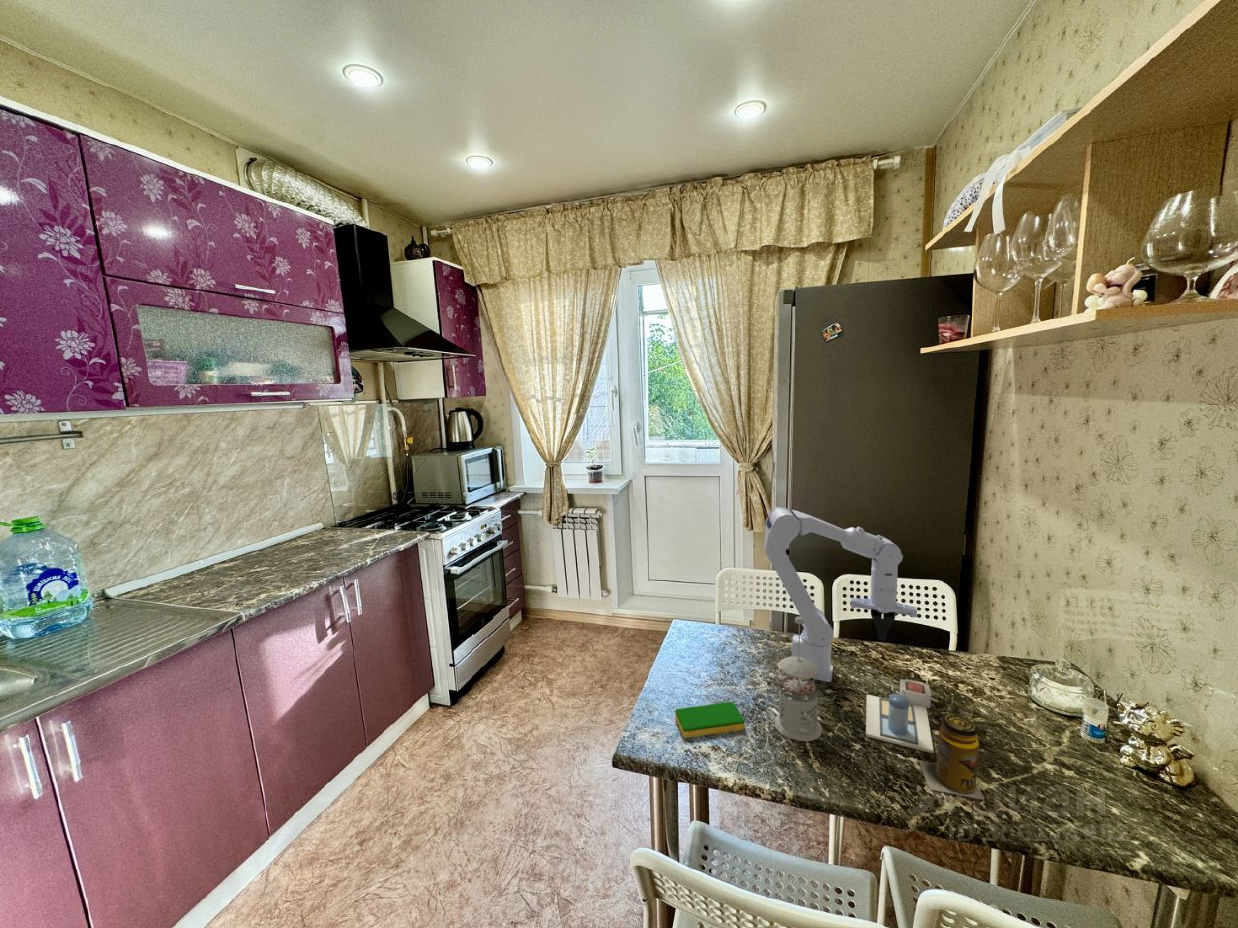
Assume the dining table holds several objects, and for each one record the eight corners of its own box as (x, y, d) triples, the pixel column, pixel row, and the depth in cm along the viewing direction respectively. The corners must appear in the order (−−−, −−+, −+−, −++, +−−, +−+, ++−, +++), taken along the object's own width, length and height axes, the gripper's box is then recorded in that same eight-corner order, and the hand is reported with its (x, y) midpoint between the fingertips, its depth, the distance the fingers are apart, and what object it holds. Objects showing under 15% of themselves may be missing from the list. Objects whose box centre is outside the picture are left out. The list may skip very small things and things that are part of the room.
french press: (766, 727, 106) (767, 618, 103) (789, 702, 114) (790, 601, 111) (811, 748, 99) (813, 632, 96) (832, 719, 108) (834, 612, 104)
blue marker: (886, 731, 102) (887, 701, 101) (888, 721, 105) (889, 691, 104) (907, 737, 100) (908, 706, 99) (908, 727, 103) (909, 697, 102)
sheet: (865, 736, 102) (866, 732, 102) (866, 696, 115) (866, 693, 115) (933, 753, 97) (933, 749, 97) (926, 710, 110) (926, 706, 110)
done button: (907, 699, 113) (908, 687, 113) (906, 692, 116) (907, 680, 115) (922, 702, 112) (923, 690, 111) (921, 695, 114) (922, 683, 114)
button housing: (901, 702, 113) (901, 690, 112) (899, 689, 118) (900, 677, 117) (930, 709, 110) (931, 697, 110) (928, 695, 115) (928, 683, 115)
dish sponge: (745, 730, 106) (745, 720, 105) (684, 739, 104) (683, 729, 103) (732, 710, 113) (732, 700, 112) (674, 718, 111) (674, 708, 110)
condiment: (985, 800, 85) (989, 737, 84) (929, 790, 88) (933, 729, 86) (969, 770, 92) (973, 711, 91) (918, 761, 95) (921, 704, 93)
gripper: (850, 588, 121) (849, 639, 123) (919, 597, 114) (916, 651, 116) (851, 578, 127) (850, 627, 129) (916, 586, 120) (914, 638, 122)
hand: (881, 638), depth 123 cm, fingers closed
